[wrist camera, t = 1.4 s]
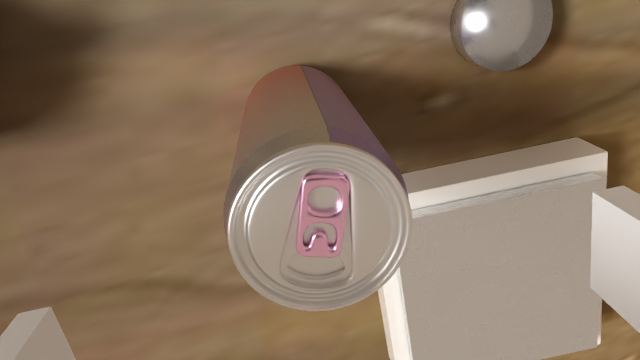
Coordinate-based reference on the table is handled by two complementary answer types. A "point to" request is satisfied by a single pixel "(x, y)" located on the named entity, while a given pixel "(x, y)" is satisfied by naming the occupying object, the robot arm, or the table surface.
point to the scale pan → (502, 275)
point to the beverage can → (313, 196)
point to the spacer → (500, 31)
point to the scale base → (484, 180)
